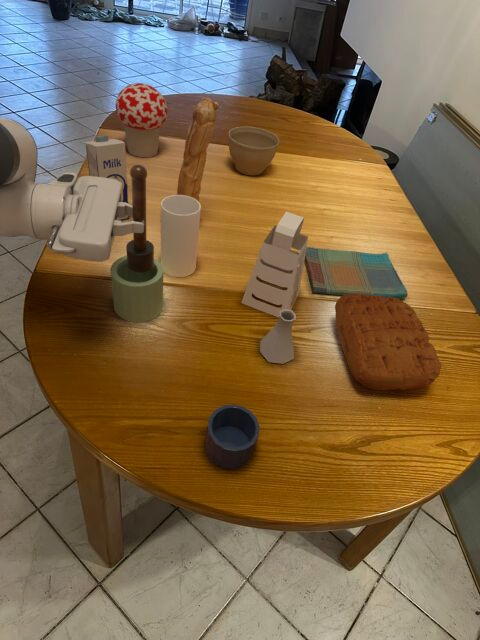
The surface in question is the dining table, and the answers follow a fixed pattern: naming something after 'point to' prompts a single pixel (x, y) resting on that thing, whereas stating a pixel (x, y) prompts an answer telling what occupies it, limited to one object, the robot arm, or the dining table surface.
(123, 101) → the decorative object
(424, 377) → the cuneiform tablet
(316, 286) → the dish towel
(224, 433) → the holder
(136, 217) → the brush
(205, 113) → the sculpture
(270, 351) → the flask
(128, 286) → the jar
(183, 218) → the cup
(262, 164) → the planter bowl
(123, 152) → the milk carton
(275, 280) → the grater
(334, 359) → the dining table surface
